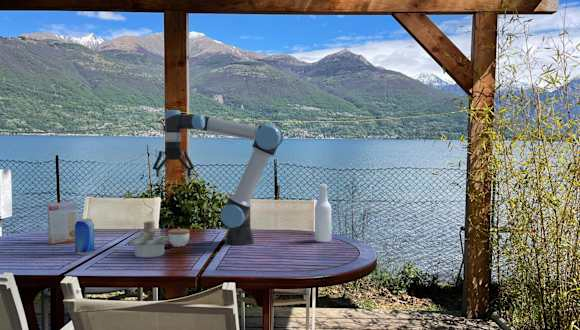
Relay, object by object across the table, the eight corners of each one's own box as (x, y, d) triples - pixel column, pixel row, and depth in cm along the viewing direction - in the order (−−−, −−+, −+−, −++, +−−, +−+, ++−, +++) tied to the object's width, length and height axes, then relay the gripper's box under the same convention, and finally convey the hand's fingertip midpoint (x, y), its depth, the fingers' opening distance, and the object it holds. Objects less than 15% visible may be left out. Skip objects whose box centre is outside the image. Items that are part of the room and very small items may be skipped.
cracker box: (76, 240, 288) (75, 201, 287) (78, 242, 283) (78, 202, 282) (48, 243, 280) (47, 203, 279) (50, 244, 275) (49, 204, 274)
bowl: (166, 251, 260) (166, 238, 259) (160, 257, 247) (160, 244, 246) (139, 251, 260) (139, 238, 259) (131, 257, 247) (131, 244, 246)
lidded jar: (184, 248, 267) (184, 229, 266) (164, 247, 269) (164, 228, 269) (193, 244, 277) (192, 225, 277) (173, 243, 280) (173, 225, 279)
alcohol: (312, 239, 288) (312, 184, 286) (327, 239, 291) (327, 183, 289) (318, 243, 280) (318, 185, 278) (333, 242, 282) (334, 185, 281)
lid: (170, 238, 261) (169, 219, 260) (162, 244, 245) (162, 224, 244) (137, 238, 261) (136, 219, 260) (127, 245, 245) (127, 224, 244)
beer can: (98, 252, 257) (97, 219, 257) (86, 256, 249) (85, 221, 249) (83, 251, 260) (83, 218, 259) (71, 254, 252) (70, 220, 251)
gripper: (199, 141, 272) (199, 182, 274) (149, 141, 272) (150, 183, 273) (196, 141, 265) (197, 184, 266) (146, 141, 265) (146, 184, 266)
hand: (173, 183), depth 270 cm, fingers open, 13 cm apart
